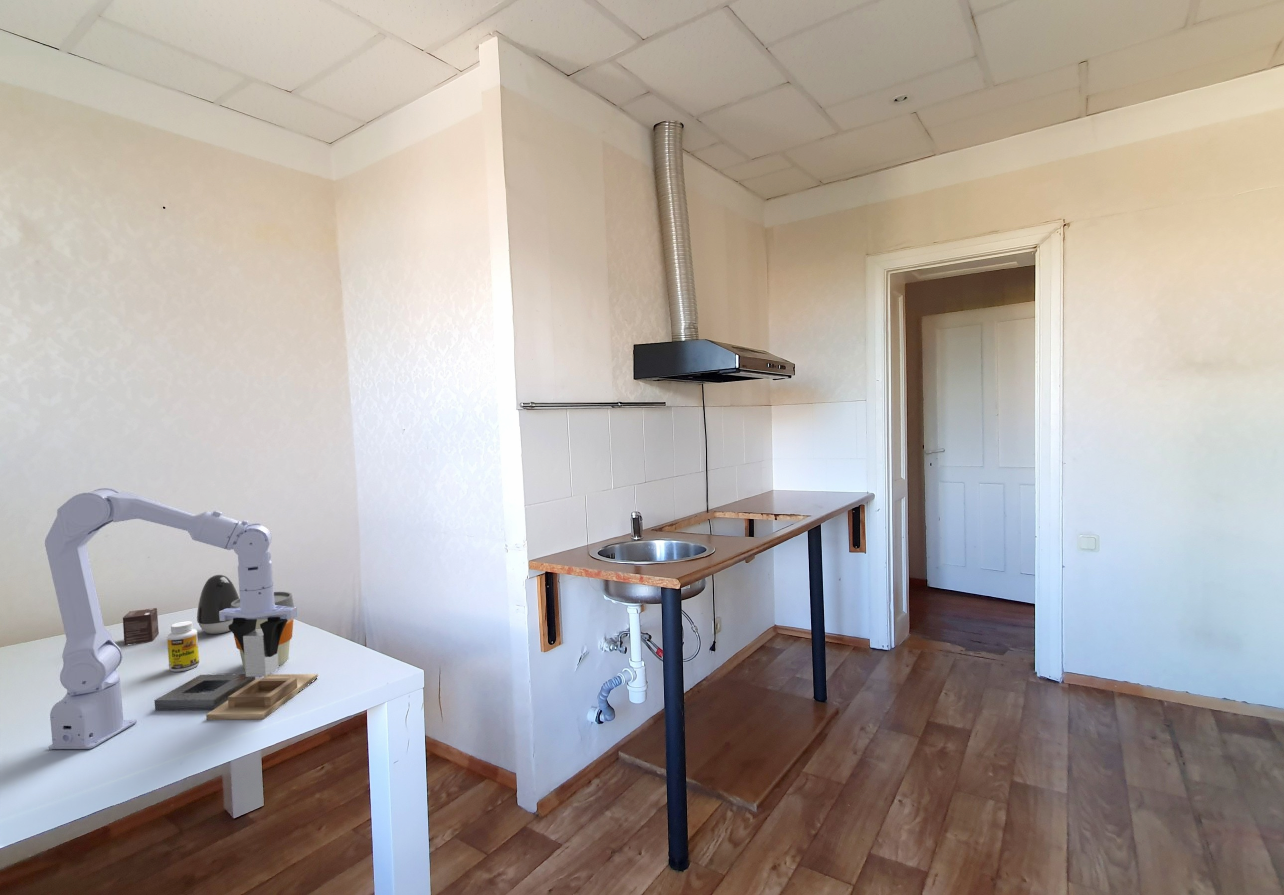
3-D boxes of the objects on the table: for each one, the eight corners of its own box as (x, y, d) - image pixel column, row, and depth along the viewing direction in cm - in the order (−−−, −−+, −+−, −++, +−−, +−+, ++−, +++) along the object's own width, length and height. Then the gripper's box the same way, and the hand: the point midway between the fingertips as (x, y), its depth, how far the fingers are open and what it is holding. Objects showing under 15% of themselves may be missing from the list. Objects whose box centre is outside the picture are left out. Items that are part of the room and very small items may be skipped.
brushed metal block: (265, 676, 122) (263, 635, 122) (245, 676, 122) (243, 636, 122) (278, 667, 126) (276, 628, 126) (259, 668, 126) (256, 628, 126)
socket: (214, 709, 122) (213, 699, 122) (155, 710, 122) (154, 700, 122) (255, 683, 134) (254, 673, 134) (201, 683, 134) (200, 674, 134)
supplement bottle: (168, 674, 140) (165, 629, 140) (170, 666, 145) (167, 623, 144) (199, 668, 143) (195, 624, 143) (200, 661, 148) (196, 618, 147)
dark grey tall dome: (201, 640, 162) (197, 582, 161) (195, 631, 170) (191, 575, 169) (247, 630, 169) (243, 574, 168) (239, 621, 177) (235, 568, 176)
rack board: (263, 719, 117) (262, 703, 117) (206, 719, 118) (205, 703, 118) (317, 678, 135) (317, 664, 135) (268, 679, 136) (267, 665, 136)
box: (131, 638, 166) (129, 611, 165) (159, 634, 168) (157, 607, 168) (123, 645, 160) (121, 617, 160) (153, 641, 163) (150, 613, 162)
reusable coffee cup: (308, 658, 147) (304, 594, 146) (252, 678, 136) (248, 610, 136) (278, 649, 154) (274, 588, 153) (222, 668, 143) (218, 603, 142)
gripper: (304, 580, 127) (308, 646, 127) (235, 582, 128) (239, 648, 128) (282, 590, 120) (287, 660, 120) (209, 592, 120) (214, 661, 121)
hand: (261, 655), depth 124 cm, fingers closed on brushed metal block, 4 cm apart
